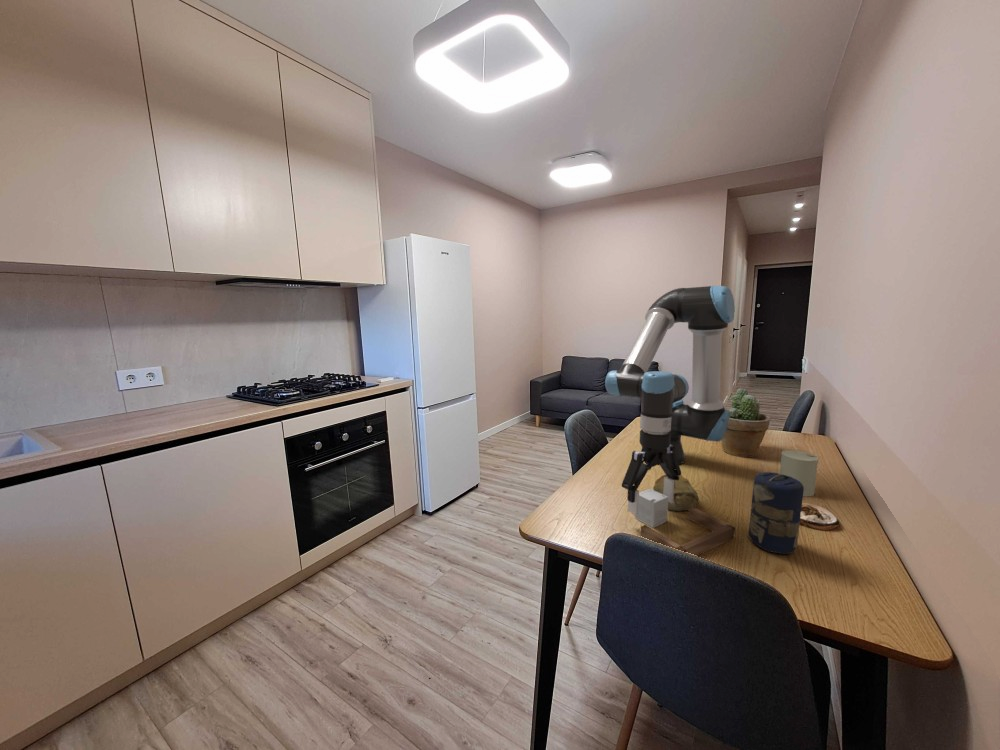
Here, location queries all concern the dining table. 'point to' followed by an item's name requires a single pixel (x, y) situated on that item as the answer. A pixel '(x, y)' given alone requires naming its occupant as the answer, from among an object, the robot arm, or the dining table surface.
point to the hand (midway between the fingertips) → (650, 506)
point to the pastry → (679, 494)
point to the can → (800, 468)
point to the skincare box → (652, 508)
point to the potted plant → (744, 426)
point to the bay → (702, 544)
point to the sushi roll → (817, 517)
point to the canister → (775, 512)
